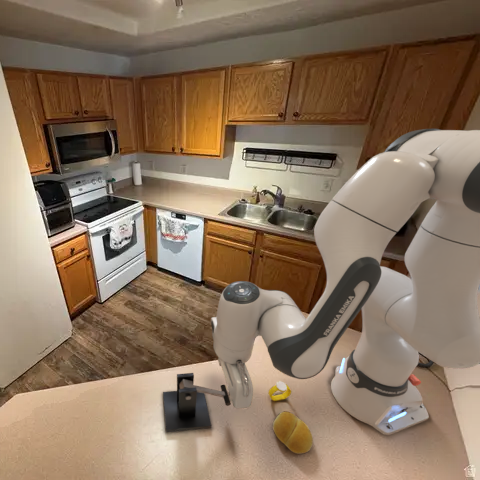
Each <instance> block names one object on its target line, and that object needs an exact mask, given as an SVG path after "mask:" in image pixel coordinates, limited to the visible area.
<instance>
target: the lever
mask: <svg viewBox="0 0 480 480" xmlns="http://www.w3.org/2000/svg"><path fill="white" fill-rule="evenodd" d="M179 386H180V389H185V388H196V389H197V392H200V393H204V394H205V395H210V396H215V397H218V398H223V402H224V404H225V406H226V407H229V406H231V405H232V403H231V401H230V399H229V395H228V394H229V391H228V388H227V385H226V384H223V383H222V384H221V385H220V390H219V389H213V388H210V387H204V386H200V385H195V384H193V381H190V380H185V379H183V380H182V381H181V383H180V384H179Z"/></svg>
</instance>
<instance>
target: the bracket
mask: <svg viewBox="0 0 480 480" xmlns="http://www.w3.org/2000/svg"><path fill="white" fill-rule="evenodd" d="M183 379H185V380H190V381H193V385H195V384H194V381H195V375H194V372H188V373H177V374H176V390H169V391H163V392H162V397H163V409H164V410H163V411H164V422H165V423H164V424H165V433H174V432H183V431H196V430H204V429H205V430H206V429H212V421H211V416H210V413H209V408H208V403H207V399H206V394H205V393H200V392H197V389H196V388H185V389H180V386H179V384H180V383H181V381H182V380H183Z"/></svg>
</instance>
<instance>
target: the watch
mask: <svg viewBox="0 0 480 480" xmlns="http://www.w3.org/2000/svg"><path fill="white" fill-rule="evenodd" d="M277 392H280V394H276V395H274V394H275V393H277ZM291 394H292V389H291V388H290V386H289V385H288V384H286V383H285V382H283V381H281V380H278V381H276V383H275V385H273V386H271V387H270V389H269V390H268V396H269V398H270V399H271V400H272V401H274V402H277V401H283V400H286V399H287V398H289V397H290V396H291Z"/></svg>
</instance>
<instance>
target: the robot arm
mask: <svg viewBox="0 0 480 480" xmlns="http://www.w3.org/2000/svg"><path fill="white" fill-rule="evenodd" d="M429 199H431V200H435V202H434V204H433V205H432V206H431V207H430V209H429V210H428V212H427V213H426V215H425V217H424V219H423V220H422V222H421V223H420V226H419V227H418V229H417V231H416V233H415V234H414V237H413V238H412V240H411V242H410V244H409V245H408V247H407V249H406V251H405V253H404V258H403V260H404V265H405V267H406V269H407V271H408V273H409V275H410V277H411V278H410V277H409V276H408V275H406V274H403V273H401V272H398V271H396V270H394V269H391V268H389V267H386V266H381V263H382V258H383V255H384V252H385V250H386V248H387V246H388V245H389V243H390V241H391V240H392V239H393V238H394V237H395V235H396V234H397V233H398V232H399V231H400V230H401V229H402V228H403V227H404V225H405V224H406V223H407V222H408V221H409V220H410V218H411V217H412V216H413V215H414V213H415V212H416V211H417V209H418V208H419V207H420V205H421V204H422V203H423V202H424V201H427V200H429ZM313 236H314V241H315V245H316V248H317V249H318V251H319V254H320V256H321V258H322V261H323V264H324V268H325V274H326V284H325V288H324V290H323V293H322V294H321V296H320V298H319V299H318V301H317V302H316V303H315V305H314V306H313V307H312V310H311V311H310V312H309V314H308V316H307V317H305V315H304V314H303V312H302V310H301V309H300V307H299V306H298V305H297V304H296V302H295V300H293V298H292V297H291V295H289V293H287V292H286V291H282V290H278V289H262V288H261V287H259V286H257V284H255V283H253V282H250V281H246V280H239V281H238V280H237V281H234V282H231V283H229V284H227V286H226V287H224V289H223V290H222V293H221V294H220V297H219V300H218V303H217V304H218V305H217V309H216V316H213V317H211V318H210V326H211V334H212V335H211V337H212V341H213V343H212V344H213V345H212V347H213V351H214V353H215V354H216V356H217V357H218V358H217V361H218V365H219V367H221V370H222V373H223V377H224V379H225V383H226V387H227V390H228V396H229V399H230V402H232V405H233V407H234V408H235V409H237V410H245V409H249V408H251V406H252V402H253V395H254V385H253V382H252V381H253V380H252V377H251V375H250V373H249V370H248V368H247V365H246V364H247V362H248V361H250V359H251V357H252V354H253V351H254V350H253V349H254V346H255V342H256V341H255V340H256V338H257V337H261V338H262V340H263V342H264V344H265V347H266V348H267V353H268V355H269V358H270V361H271V363H272V365H273V367H274V368H275V369H276V370H277V371H279V372H281V373H282V374H284V375H286V376H288V377H290V378H293V379H298V380H309V379H311V378H314V377H316V376H317V375H319V374H320V373H321V372H323V370H324V369H325V367H326V366H327V364H328V362H329V360H330V357H331V356H332V353H333V350H334V348H335V347H336V345H337V344H338V343H339V341H340V340H341V338H342V336H343V335H344V334H345V332H346V331H347V329H348V328H349V327H350V325H351V324H352V322H353V321H354V320H355V318H356V317H357V316H358V314H359V313H360V311H361V319H362V323H361V334H360V336H359V340H358V342H357V344H356V347H355V349H353V350H352V351H351V353H350V354H349V355H348V356H347V357H346V358H345V357H343V358H342V361H341V365H338V366H336V367H335V370H334V374H335V375H334V376H333V378H332V379H331V382H330V390H331V393H332V395H333V397H334V399H335V401H336V402H337V404H339V406H340V407H341V408H342V409H343V410H344V411H345V412H346V413H348V415H351V416H352V417H353V418H355V419H356V420H358V421H360V422H362V423H364V424H367V425H369V426H371V427H372V428H374V429H375V430H376V431H378V432H380V434H382V435H384V436H390V435H393V434H396V433H398V432H400V431H401V432H402V431H403V430H406V429H408V428H410V427H413V426H415V425H418V424H421V423H423V422H425V421H428V420H429V418H430V417H429V416H430V415H429V413H428V410H427V408H426V406H425V405H424V403H423V400H424V399H423V397H422V394H421V392H420V391H419V389H418V388H417V387H416V386H419V385H421V384H422V381H421V380H420V379H419V378H418V377H417V376H416V375H415V374H412V373H413V372H414V370H415V369H416V368H417V366H419V367H423V368H428V367H432V366H433V364H436V365H438V366H439V367H441V368H446V369H453V370H462V369H463V370H464V369H470V368H474V367H475V366H478V365H480V313H479V307H478V297H479V296H478V294H479V289H480V129H472V130H471V129H470V130H460V129H457V130H456V129H439V128H423V129H416V130H411V131H409V132H407V133H404V134H403V135H401V136H400V137H398V138H396V139H395V140H394V141H393V142H392V143H390V144H389V145H388V146H387V148H386V149H385V150H384V151H383V152H380V153H378V154H376V155H374V156H372V157H371V158H370V159H368V160H367V161H366V162H365V163H364V164H363V165H362V166H361V167H360V168H358V169H357V170H356V172H355V173H354V174H352V176H350V178H349V179H348V180H347V181H346V182H345V183H344V184H343V186H342V187H340V189H339V190H338V191H337V192H336V193H335V195H334V196H333V197H332V199H331V200H330V201H329V202H328V204H327V205H326V206H325V207H324V209H323V210H322V212H321V213H320V215H319V216H318V218H317V221H316V223H315V225H314V229H313ZM420 354H421V355H422V356H424V357H426V359H428V360H429V362H428V363H422V362H419V361H420Z"/></svg>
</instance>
